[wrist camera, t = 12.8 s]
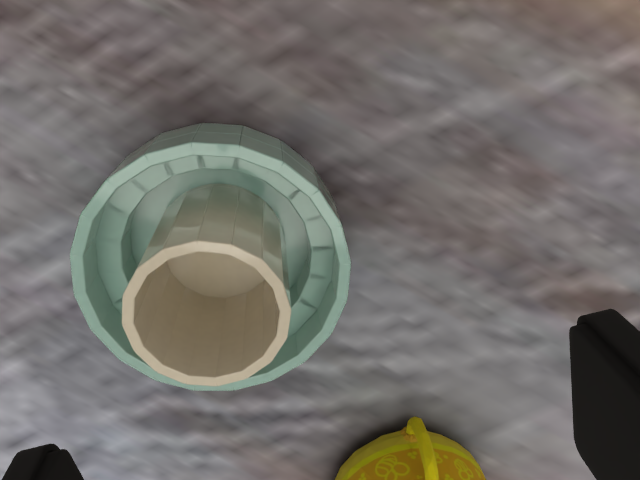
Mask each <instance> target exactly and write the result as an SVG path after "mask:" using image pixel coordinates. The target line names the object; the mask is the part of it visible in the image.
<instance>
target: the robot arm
mask: <svg viewBox="0 0 640 480" xmlns="http://www.w3.org/2000/svg"><path fill="white" fill-rule="evenodd" d="M569 336H570V359H571V382H572V405H573V428H574V440H575V444H576V447H577V450H578V452H579V454H580V456H581V457H582V459H583V460H584V462H585V463H586V465H587V466H588V468H589V469H590V471H591V472H592V474H593V475H594V476H595V478H596V479H597V480H640V331H638V330H637V329H636V328H635V327H634V326H633V325H632V324H631V323H630V322H628V321H627V320H626V319H625V318H624V317H623V316H622V315H621V314H619V313H618V312H617V311H615V310H614V309H608V310H604V311H599V312H595V313H591V314H587V315H583V316H580V317H579V318H578V321H577V325H576V326H572V327H571V328H570V333H569ZM2 480H84V479H83V477H82V475H81V473H80V471H79V470H78V468H77V466H76V464H75V462H74V461H73V459H72V457H71V455H70V454H69V452H68V451H67V450H65V449H61V450H60V449H59V448H58V446H56V445H55V444H47V445H43V446H39V447H35V448H31V449H27V450H22V451H20V452H18V453H17V454H16V456H15V457H14V458H13V460H12V462H11V464H10V466H9V468H8V469H7V471H6V473H5V475H4V477H3V479H2Z"/></svg>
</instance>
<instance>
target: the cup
mask: <svg viewBox="0 0 640 480" xmlns="http://www.w3.org/2000/svg"><path fill="white" fill-rule="evenodd" d="M290 318H291V301H290V289H289V277H288V265H287V253H286V242H285V239H284V234H283V229H282V226H281V224H280V221H279V219H278V217H277V215H276V214H275V212H274V211H273V210H272V208H271V207H270V206H269V205H268V204H267V203H266V202H265V201H264V200H263V199H262V198H260V197H259V196H258V195H256V194H254V193H253V192H251V191H249V190H246V189H244V188H241V187H238V186H235V185H229V184H207V185H202V186H199V187H196V188H193V189H191V190H189V191H186V192H185V193H183V194H182V195H180V196H179V197H177V198H176V199H175V200H174V201H173V202H172V203H171V204H170V205H169V206H168V207H167V208H166V210H165V211H164V213H163V215H162V217H161V219H160V221H159V223H158V225H157V226H156V228H155V230H154V232H153V234H152V236H151V238H150V240H149V242H148V244H147V246H146V248H145V250H144V252H143V254H142V257H141V259H140V261H139V263H138V265H137V267H136V269H135V271H134V273H133V275H132V277H131V279H130V281H129V283H128V285H127V287H126V289H125V291H124V293H123V296H122V326H123V328H124V331H125V333H126V335H127V337H128V340H129V342H130V344H131V346H132V348H133V350H134V352H135V353H136V354H137V355H138V356H139V357H140V358H141V359H143V360H144V361H145V362H146V363H147V364H148V365H149V366H150V367H151V368H152V369H153V370H154V371H157V373H159V374H162V375H164V376H167V377H169V378H171V379H174V380H176V381H179V382H181V383H183V384H185V383H186V384H188V385H202V386H221V385H225V384H229V383H233V382H236V381H240V380H244V379H246V378H249V377H250V376H252V375H253V374H255V373H256V372H258V371H259V370H261V369H262V368H264V367H265V366H266V365H268V364H269V363H271V362H272V360H273V359H274V357H275V356H276V354H277V353H278V351H279V350H280V348H281V347H282V345H283V344H284V342H285V341H286V339H287V337H288V330H289V324H290Z"/></svg>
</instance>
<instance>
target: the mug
mask: <svg viewBox="0 0 640 480" xmlns="http://www.w3.org/2000/svg"><path fill="white" fill-rule="evenodd" d="M335 480H486V479H485V477H484V475H483V472H482V470H481V468H480V466H479V464H478V463H477V462H476V460H475V459H474V458H473V456H472V455H471V454H470V452H468V451H467V450H466V449H465V448H463V447H462V446H461V445H460V444H459V443H457V442H455V441H453V440H451V439H449V438H447V437H445V436H443V435H440V434H436V433H432V432H429V431H427V430H426V428H425V426H424V423H423V421H422V419H421V418H418V417H416V416H415V417H412V418H410V419H409V421H408V423H407V427H404V428H403V429H402V430H401V431H397V432H393V433H390V434H386V435H382V436H380V437H379V438H377V439H375V440H373V441H372V442H370V443H368V444H366V445H365V446H363V447H361V448H359V449H358V450H356V451H355V452H354V453H353V454H352V455H351V456H350V457H349V458H348V460H347V461H346V462H345V463H344V464H343V465H342V466H341V467H340V469H339V472H338V474H337V476H336V478H335Z"/></svg>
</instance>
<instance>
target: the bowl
mask: <svg viewBox="0 0 640 480" xmlns="http://www.w3.org/2000/svg"><path fill="white" fill-rule="evenodd" d="M207 184H229V185H235V186H238V187H241V188H244V189H246V190H249V191H251V192H253V193H254V194H256V195H258V196H259V197H260V198H262V199H263V200H264V201H265V202H266V203H267V204H268V205H269V206H270V207H271V208H272V210H273V211H274V212H275V214H276V215H277V217H278V219H279V221H280V224H281V226H282V229H283V234H284V239H285V242H286V253H287V265H288V277H289V289H290V301H291V318H290V324H289V330H288V337H287V339H286V341H285V342H284V344H283V345H282V347H281V348H280V350H279V351H278V353H277V354H276V356H275V357H274V359H273V360H272V362H271V363H269V364H268V365H266V366H265V367H264V368H262V369H261V370H259V371H258V372H256V373H255V374H253V375H252V376H250V377H249V378H246V379H244V380H240V381H236V382H233V383H229V384H225V385H221V386H202V385H188V384H186V383H185V384H183V383H181V382H179V381H176V380H174V379H171V378H169V377H167V376H164V375H162V374H159V373H157V371H154V370H153V369H152V368H151V367H150V366H149V365H148V364H147V363H146V362H145V361H144V360H143V359H141V358H140V357H139V356H138V355H137V354H136V353H135V352H134V350H133V348H132V346H131V344H130V342H129V340H128V337H127V335H126V333H125V331H124V328H123V326H122V296H123V293H124V291H125V289H126V287H127V285H128V283H129V281H130V279H131V277H132V275H133V273H134V271H135V269H136V267H137V265H138V263H139V261H140V259H141V257H142V254H143V252H144V250H145V248H146V246H147V244H148V242H149V240H150V238H151V236H152V234H153V232H154V230H155V228H156V226H157V225H158V223H159V221H160V219H161V217H162V215H163V213H164V211H165V210H166V208H167V207H168V206H169V205H170V204H171V203H172V202H173V201H174V200H175V199H176V198H177V197H179V196H180V195H182V194H183V193H185V192H186V191H189V190H191V189H193V188H196V187H199V186H202V185H207ZM70 263H71V273H72V283H73V292H74V296H75V298H76V300H77V302H78V305H79V307H80V309H81V311H82V313H83V315H84V317H85V319H86V321H87V323H88V325H89V327H90V330H92V332H93V333H94V334H95V335H96V336H97V337H98V338H99V339H100V340H101V341H102V342H103V343H104V344H105V345H106V347H107V348H108V349H109V350H110V351H111V352H112V353H113V354H114V355H115V356H116V357H117V358H118V359H119V360H120V361H122V362H124V363H126V364H127V365H129V366H131V367H132V368H134V369H136V370H138V371H139V372H141V373H143V374H144V375H146V376H148V377H150V378H151V379H153V380H156V381H159V382H163V383H167V384H170V385H174V386H178V387H182V388H185V389H189V390H201V391H233V390H238V389H242V388H246V387H250V386H254V385H258V384H262V383H266V382H270V381H271V380H274V379H276V378H278V377H279V376H281V375H283V374H285V373H286V372H288V371H290V370H292V369H293V368H295V367H297V366H299V365H300V364H302V363H304V362H305V361H306V360H307V359H308V358H309V357H310V356H311V355H312V354H313V353H314V352H315V351H316V350H317V349H318V348H319V347H320V346H321V345H322V344H323V343H324V342H325V340H326V339H327V338H328V337H329V336H330V335H331V334H332V332H333V330H334V327H335V325H336V323H337V321H338V319H339V317H340V315H341V313H342V311H343V309H344V307H345V304H346V302H347V298H348V289H349V280H350V271H351V259H350V255H349V251H348V247H347V243H346V239H345V235H344V230H343V226H342V223H341V220H340V218H339V215H338V212H337V209H336V206H335V203H334V200H333V197H332V195H331V194H330V192H329V191H328V189H327V188H326V186H325V184H324V183H323V181H322V180H321V178H320V177H319V175H318V174H317V172H316V170H315V169H314V167H313V166H311V164H310V163H309V162H308V161H306V160H305V159H304V158H303V157H301V156H300V155H299V154H298V153H296V152H295V151H294V150H293V149H292V148H290V147H289V146H288V145H287V144H285V143H284V142H283V141H281V140H280V139H277V138H274V137H272V136H269V135H267V134H264V133H261V132H259V131H256V130H254V129H251V128H248V127H246V126H243V125H230V124H214V123H199V124H195V125H191V126H187V127H183V128H180V129H176V130H172V131H168V132H164V133H162V134H159V135H158V136H156V137H155V138H153V139H152V140H150V141H149V142H147V143H146V144H144V145H143V146H141V147H140V148H138V149H137V150H135V151H134V152H132V153H131V154H129V155H128V156H127V157H126V158H125V159H124V160H123V161H122V163H121V164H120V165H119V166H118V167H117V168H116V169H115V170H114V171H113V172H112V173H111V175H110V176H109V177H108V178H107V179H106V180H105V181H104V183H103V184H102V185H101V187H100V188H99V189H98V191H97V192H96V193H95V195H94V196H93V198H92V199H91V200H90V202H89V203H88V204H87V206H86V207H85V208H84V210H83V211H82V212H81V215H80V217H79V221H78V225H77V228H76V232H75V236H74V239H73V243H72V247H71V250H70Z"/></svg>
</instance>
